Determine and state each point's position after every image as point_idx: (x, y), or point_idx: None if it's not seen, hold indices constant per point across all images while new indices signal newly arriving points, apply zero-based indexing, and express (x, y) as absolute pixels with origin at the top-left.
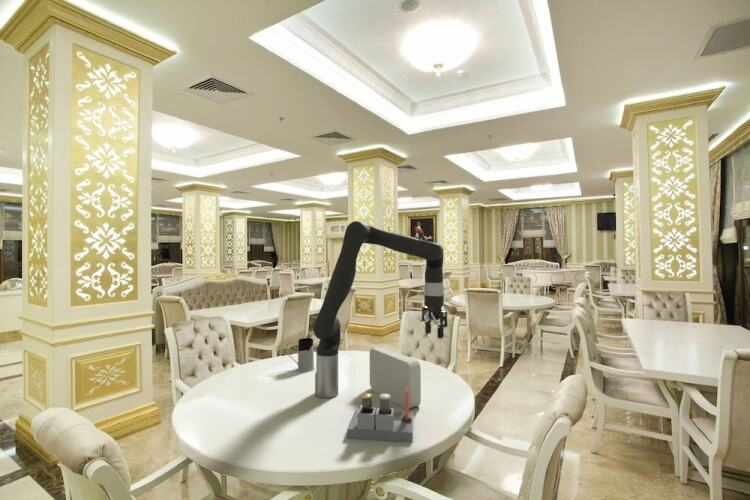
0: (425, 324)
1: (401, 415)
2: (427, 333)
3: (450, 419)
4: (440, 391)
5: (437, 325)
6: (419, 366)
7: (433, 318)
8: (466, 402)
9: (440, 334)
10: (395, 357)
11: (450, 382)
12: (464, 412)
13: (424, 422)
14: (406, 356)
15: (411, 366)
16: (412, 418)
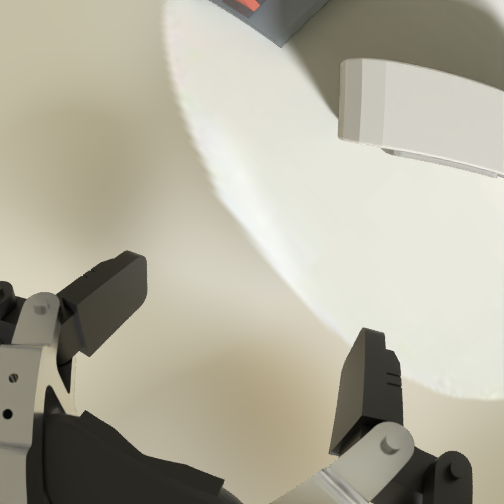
0: (383, 415)
1: (278, 3)
2: (359, 334)
3: (227, 141)
4: (387, 280)
5: (45, 320)
6: (341, 132)
7: (26, 408)
8: (280, 267)
9: (93, 269)
10: (494, 91)
11: (402, 350)
12: (237, 208)
13: (254, 68)
14: (471, 158)
15: (345, 73)
16: (243, 18)
